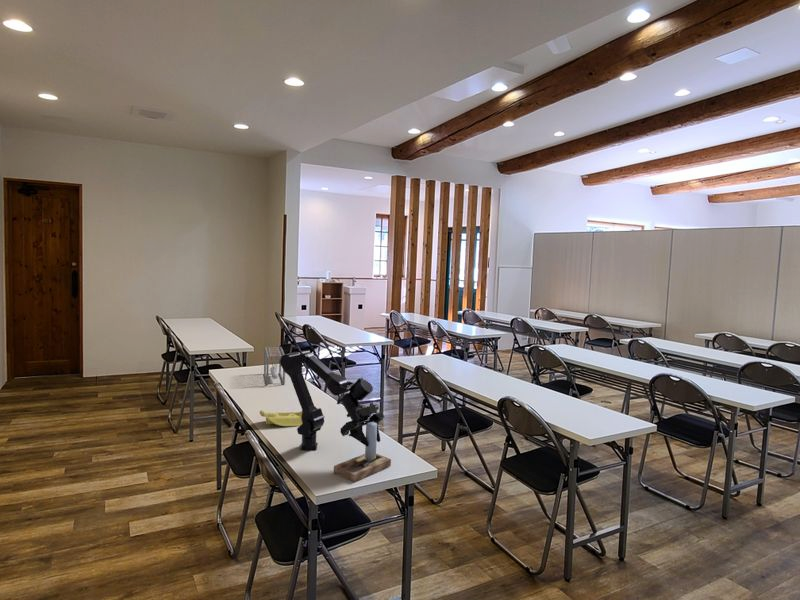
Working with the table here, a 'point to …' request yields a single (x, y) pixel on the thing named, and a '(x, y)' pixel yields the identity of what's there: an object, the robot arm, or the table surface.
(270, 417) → the banana
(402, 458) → the table surface
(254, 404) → the table surface
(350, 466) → the keyhole block
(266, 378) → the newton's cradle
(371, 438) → the slate peg
